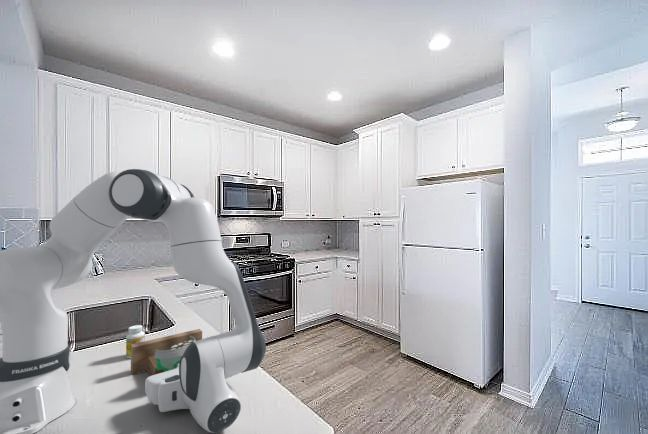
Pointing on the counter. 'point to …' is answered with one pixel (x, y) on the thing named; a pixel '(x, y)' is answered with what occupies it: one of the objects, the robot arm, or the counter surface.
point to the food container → (171, 355)
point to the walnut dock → (146, 350)
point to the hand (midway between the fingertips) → (182, 364)
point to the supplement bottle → (134, 338)
